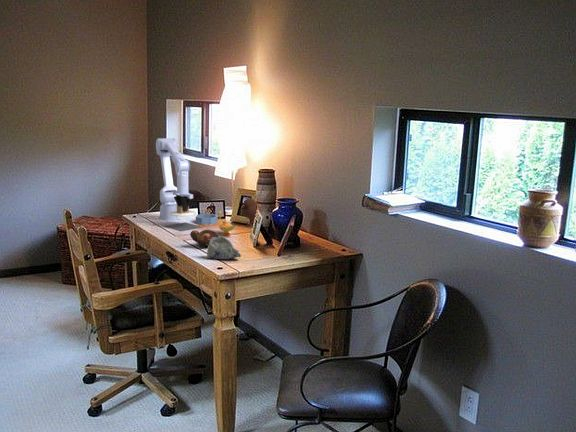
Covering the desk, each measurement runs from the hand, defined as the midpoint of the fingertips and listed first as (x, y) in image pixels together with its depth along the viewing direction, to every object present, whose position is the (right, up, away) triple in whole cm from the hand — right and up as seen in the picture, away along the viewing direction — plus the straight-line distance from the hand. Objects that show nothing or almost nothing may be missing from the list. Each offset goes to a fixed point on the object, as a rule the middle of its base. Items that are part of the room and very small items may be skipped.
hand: (182, 210), depth 294 cm
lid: (0, -2, 0) cm, 2 cm away
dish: (+10, -7, +13) cm, 18 cm away
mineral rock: (+26, -21, -52) cm, 62 cm away
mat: (0, -9, +2) cm, 9 cm away
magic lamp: (+24, -12, -11) cm, 29 cm away
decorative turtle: (+17, -17, -33) cm, 41 cm away
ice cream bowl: (+34, -8, +9) cm, 36 cm away
